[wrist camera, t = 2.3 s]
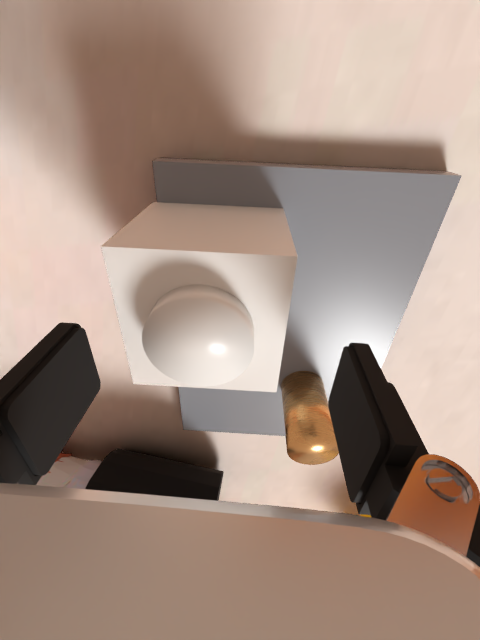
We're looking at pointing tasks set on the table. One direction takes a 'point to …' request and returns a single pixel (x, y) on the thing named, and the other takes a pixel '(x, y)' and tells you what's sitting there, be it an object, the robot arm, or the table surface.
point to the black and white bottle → (135, 476)
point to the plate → (319, 264)
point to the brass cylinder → (307, 419)
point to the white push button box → (203, 294)
